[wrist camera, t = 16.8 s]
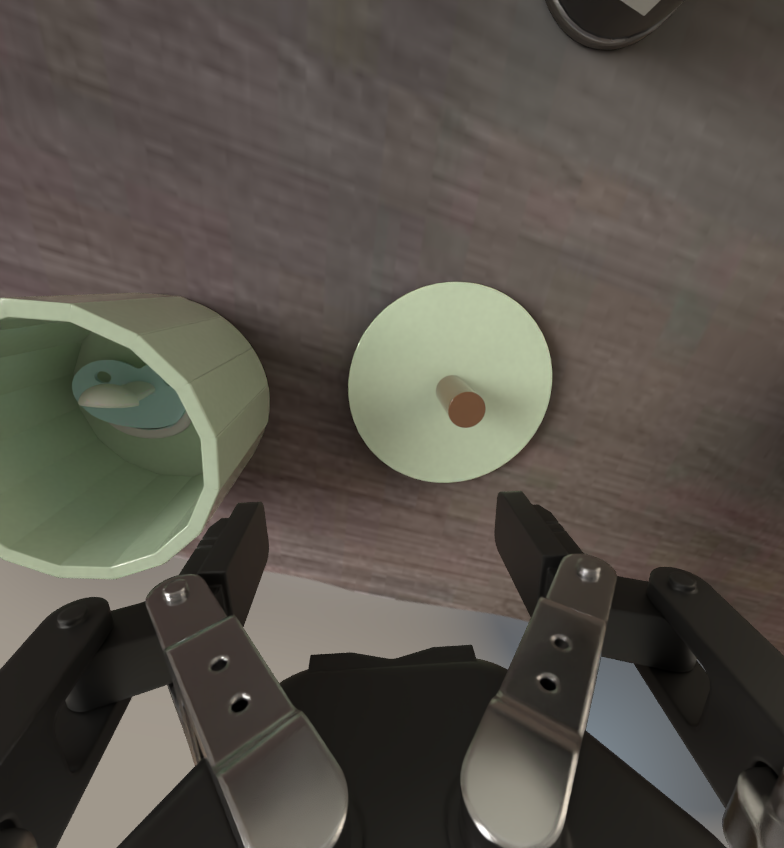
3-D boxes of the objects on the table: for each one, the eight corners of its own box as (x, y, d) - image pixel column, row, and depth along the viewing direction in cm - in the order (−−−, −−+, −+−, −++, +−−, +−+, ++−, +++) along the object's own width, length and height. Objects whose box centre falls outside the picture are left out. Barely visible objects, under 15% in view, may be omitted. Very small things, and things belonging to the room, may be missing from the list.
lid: (525, 252, 29) (566, 244, 23) (561, 444, 34) (602, 478, 28) (318, 320, 29) (307, 330, 23) (384, 499, 34) (388, 543, 28)
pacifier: (204, 436, 31) (196, 359, 29) (167, 475, 25) (153, 382, 23) (104, 433, 31) (88, 354, 29) (43, 471, 25) (17, 376, 23)
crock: (219, 265, 28) (124, 253, 17) (298, 450, 32) (264, 533, 22) (27, 331, 28) (-184, 361, 17) (132, 503, 33) (17, 610, 22)
